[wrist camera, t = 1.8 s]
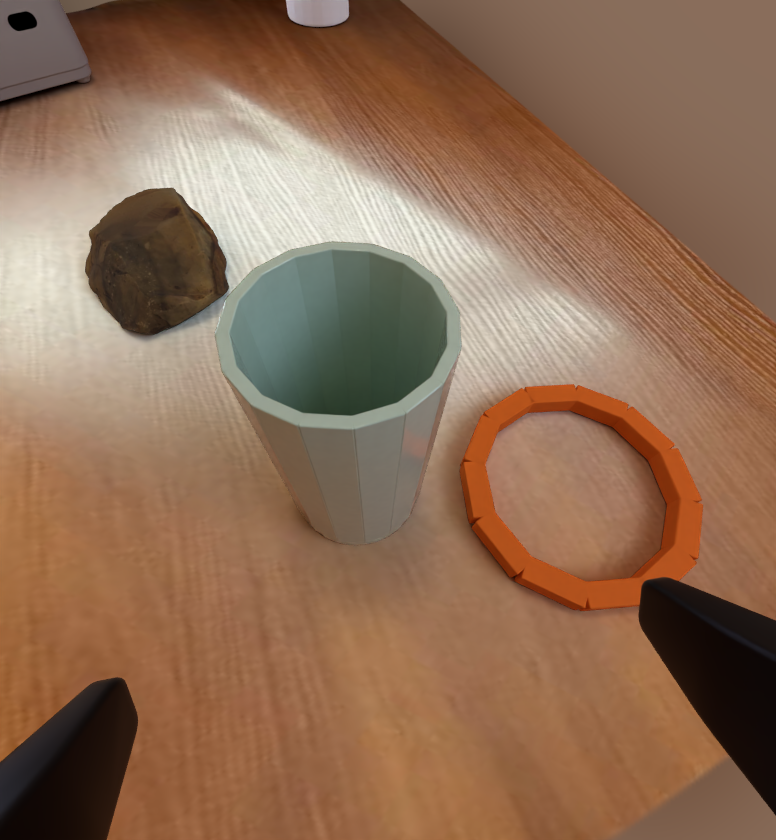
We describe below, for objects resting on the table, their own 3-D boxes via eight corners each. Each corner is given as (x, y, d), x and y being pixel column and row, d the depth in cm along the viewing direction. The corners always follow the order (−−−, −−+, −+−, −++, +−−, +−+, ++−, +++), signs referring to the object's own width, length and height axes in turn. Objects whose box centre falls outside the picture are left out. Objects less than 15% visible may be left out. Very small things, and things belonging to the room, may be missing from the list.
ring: (672, 657, 19) (690, 658, 18) (428, 540, 21) (431, 535, 20) (696, 442, 25) (710, 433, 24) (500, 368, 27) (505, 357, 26)
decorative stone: (257, 295, 30) (244, 255, 27) (127, 353, 27) (96, 315, 24) (197, 219, 34) (180, 176, 31) (78, 262, 31) (46, 219, 28)
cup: (386, 568, 21) (400, 472, 9) (272, 511, 22) (162, 365, 11) (436, 457, 24) (492, 283, 12) (333, 412, 25) (299, 218, 14)
